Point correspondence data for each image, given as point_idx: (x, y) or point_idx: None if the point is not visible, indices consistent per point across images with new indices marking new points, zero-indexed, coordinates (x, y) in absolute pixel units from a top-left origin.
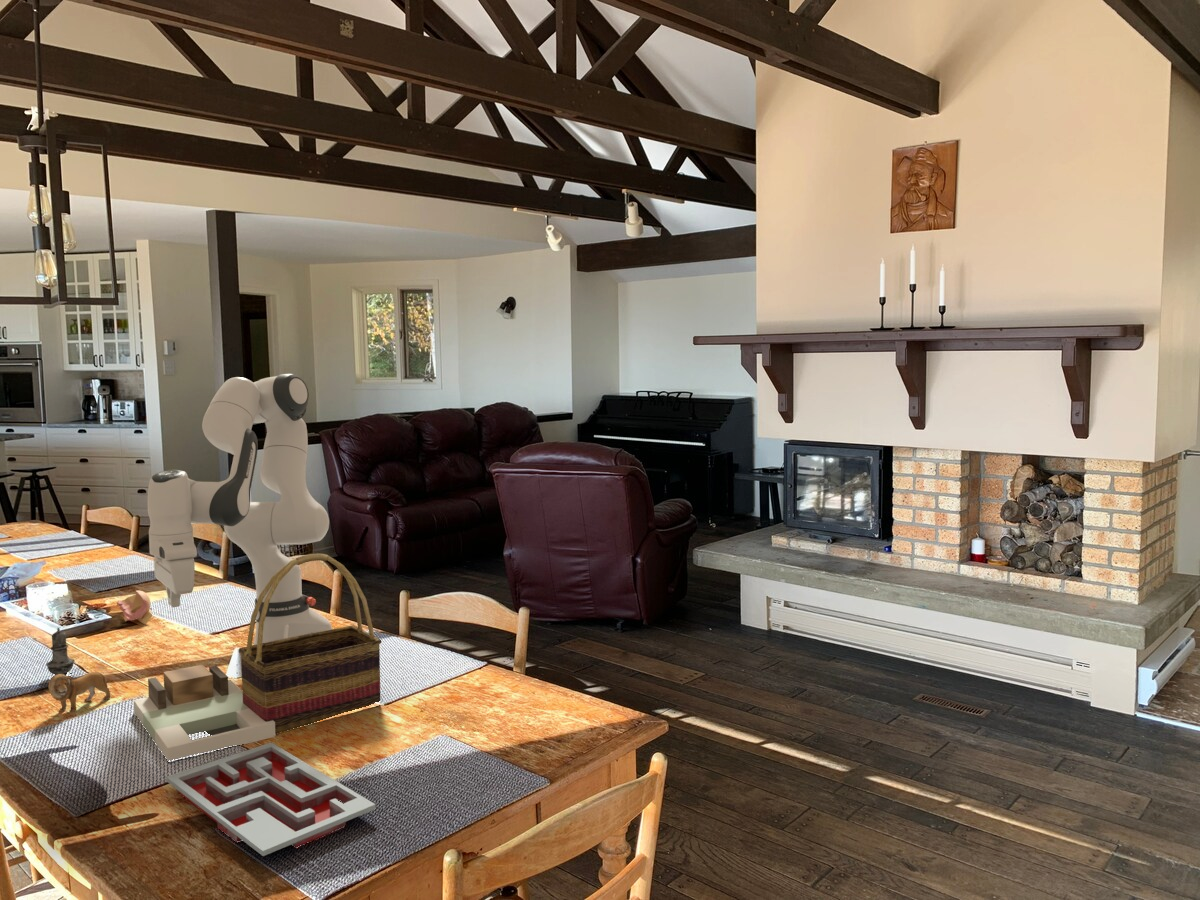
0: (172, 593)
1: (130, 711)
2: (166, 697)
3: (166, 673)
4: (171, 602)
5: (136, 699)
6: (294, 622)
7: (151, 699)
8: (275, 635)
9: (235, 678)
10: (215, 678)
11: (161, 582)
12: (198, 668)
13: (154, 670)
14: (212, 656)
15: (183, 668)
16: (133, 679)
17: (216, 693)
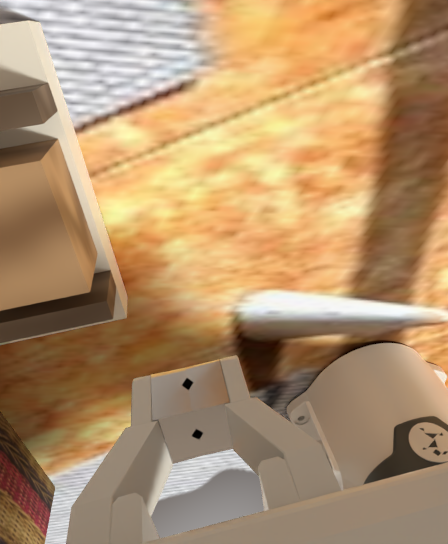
0: (78, 510)
1: (69, 10)
2: (19, 143)
3: (14, 171)
4: (131, 406)
5: (29, 33)
6: (344, 483)
7: (2, 90)
8: (342, 427)
9: (233, 307)
10: (33, 305)
11: (395, 481)
12: (43, 280)
13: (432, 116)
14: (433, 265)
15: (63, 233)
16: (394, 44)
17: None
